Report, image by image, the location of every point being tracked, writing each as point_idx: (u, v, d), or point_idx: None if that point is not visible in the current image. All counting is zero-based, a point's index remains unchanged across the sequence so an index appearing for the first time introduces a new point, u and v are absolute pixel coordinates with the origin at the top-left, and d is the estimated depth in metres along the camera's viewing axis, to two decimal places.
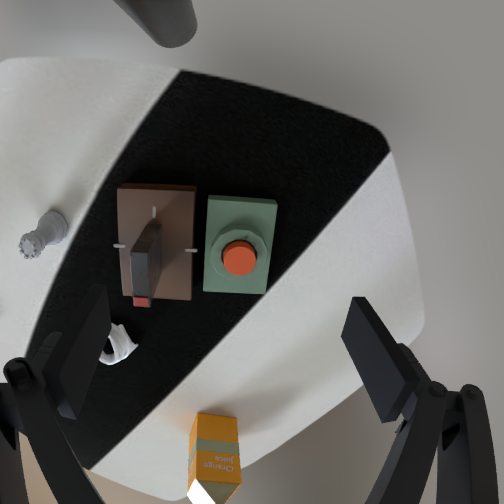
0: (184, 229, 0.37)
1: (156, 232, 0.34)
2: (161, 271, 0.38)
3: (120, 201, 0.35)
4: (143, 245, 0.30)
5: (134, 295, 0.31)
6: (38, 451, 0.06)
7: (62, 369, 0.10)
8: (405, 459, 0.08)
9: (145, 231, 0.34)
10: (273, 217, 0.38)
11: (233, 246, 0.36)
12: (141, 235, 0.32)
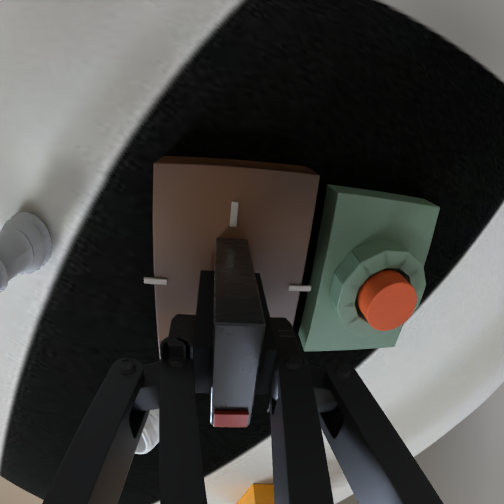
0: (292, 248, 0.19)
1: (249, 259, 0.16)
2: None
3: (160, 190, 0.17)
4: (240, 299, 0.12)
5: (215, 409, 0.13)
6: (164, 425, 0.09)
7: None
8: (292, 446, 0.08)
9: (223, 257, 0.16)
10: (431, 228, 0.20)
11: (386, 281, 0.18)
12: (220, 268, 0.15)
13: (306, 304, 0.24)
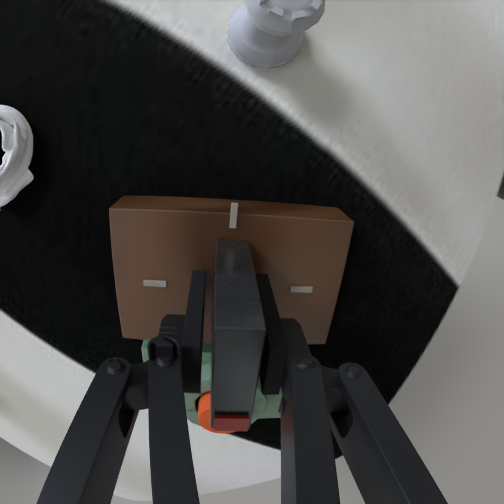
0: None
1: (250, 261, 0.16)
2: None
3: (329, 226, 0.18)
4: (241, 302, 0.12)
5: (215, 413, 0.12)
6: (154, 426, 0.08)
7: (200, 343, 0.12)
8: (302, 445, 0.08)
9: (224, 259, 0.16)
10: (270, 416, 0.26)
11: None
12: (220, 270, 0.14)
13: None
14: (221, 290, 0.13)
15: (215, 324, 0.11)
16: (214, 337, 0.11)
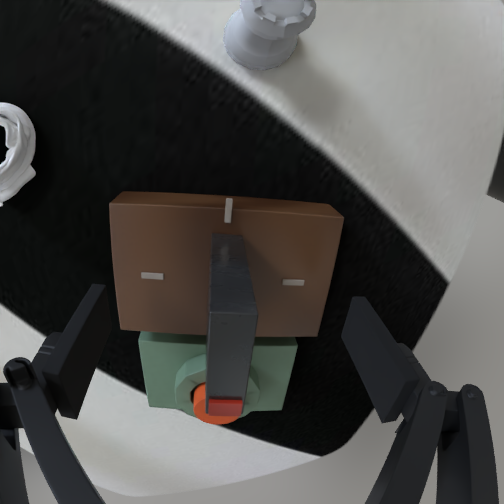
0: (257, 326, 0.22)
1: (243, 253, 0.16)
2: None
3: (320, 222, 0.19)
4: (235, 290, 0.13)
5: (210, 397, 0.13)
6: (38, 451, 0.06)
7: (62, 369, 0.10)
8: (405, 459, 0.08)
9: (219, 251, 0.16)
10: (264, 408, 0.27)
11: None
12: (215, 261, 0.15)
13: None
14: (216, 279, 0.14)
15: (210, 309, 0.12)
16: (209, 322, 0.12)
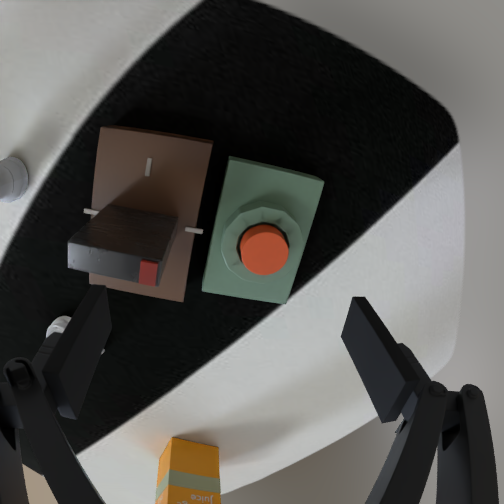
0: (189, 197, 0.25)
1: None
2: (175, 218, 0.25)
3: (102, 146, 0.22)
4: None
5: (138, 280, 0.18)
6: (38, 451, 0.06)
7: (62, 369, 0.10)
8: (405, 459, 0.08)
9: None
10: (316, 199, 0.27)
11: (259, 230, 0.24)
12: None
13: (208, 252, 0.30)
14: None
15: None
16: (74, 268, 0.18)
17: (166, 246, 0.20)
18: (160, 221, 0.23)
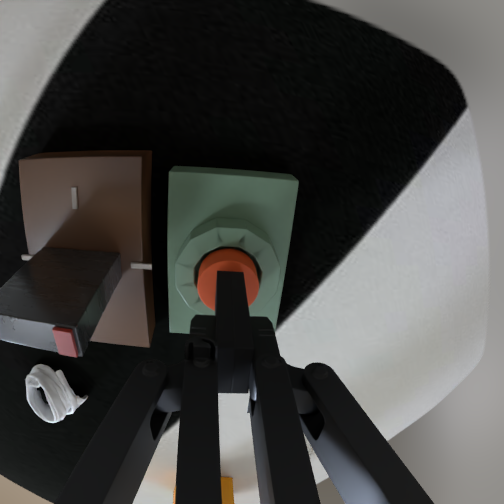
0: (127, 227, 0.19)
1: (25, 265, 0.17)
2: (114, 255, 0.19)
3: (24, 182, 0.17)
4: None
5: None
6: (185, 425, 0.09)
7: None
8: (274, 447, 0.08)
9: None
10: (291, 205, 0.20)
11: (216, 259, 0.18)
12: None
13: None
14: None
15: None
16: None
17: (88, 302, 0.14)
18: (94, 263, 0.18)
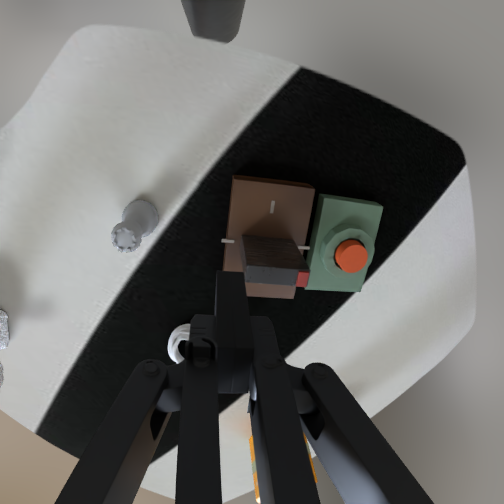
0: (300, 225, 0.37)
1: (243, 244, 0.34)
2: (292, 241, 0.37)
3: (236, 193, 0.35)
4: (244, 264, 0.31)
5: (294, 284, 0.30)
6: (185, 425, 0.09)
7: None
8: (274, 447, 0.08)
9: (241, 254, 0.34)
10: (378, 218, 0.38)
11: (349, 244, 0.36)
12: None
13: (306, 261, 0.41)
14: (243, 268, 0.32)
15: None
16: (249, 282, 0.30)
17: (305, 261, 0.32)
18: (286, 244, 0.35)
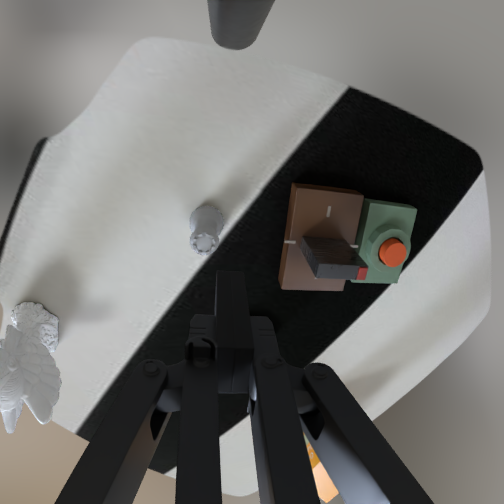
0: (351, 227, 0.41)
1: (306, 244, 0.38)
2: (345, 240, 0.41)
3: (298, 200, 0.39)
4: (313, 262, 0.35)
5: (355, 278, 0.35)
6: (185, 425, 0.09)
7: None
8: (274, 447, 0.08)
9: (304, 254, 0.39)
10: (413, 219, 0.42)
11: (392, 242, 0.40)
12: (306, 259, 0.38)
13: None
14: (310, 265, 0.36)
15: None
16: None
17: (361, 258, 0.36)
18: (341, 243, 0.40)
